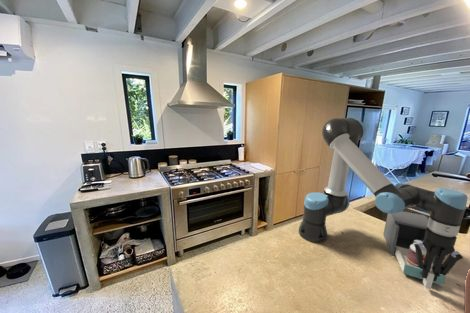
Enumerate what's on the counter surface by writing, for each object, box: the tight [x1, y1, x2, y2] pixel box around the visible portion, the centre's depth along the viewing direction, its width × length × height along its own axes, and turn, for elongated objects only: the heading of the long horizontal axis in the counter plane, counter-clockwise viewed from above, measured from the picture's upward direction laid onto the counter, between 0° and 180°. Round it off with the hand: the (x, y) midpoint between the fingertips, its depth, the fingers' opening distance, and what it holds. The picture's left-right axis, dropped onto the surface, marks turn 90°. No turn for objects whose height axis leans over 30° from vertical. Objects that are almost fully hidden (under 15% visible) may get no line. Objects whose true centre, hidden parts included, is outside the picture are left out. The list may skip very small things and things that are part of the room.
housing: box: [383, 210, 435, 263], centre depth 94 cm, size 18×15×16 cm
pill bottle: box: [407, 240, 426, 267], centre depth 82 cm, size 6×6×11 cm
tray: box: [394, 246, 447, 286], centre depth 83 cm, size 18×12×4 cm, turn 152°
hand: (426, 285), depth 73 cm, fingers closed
